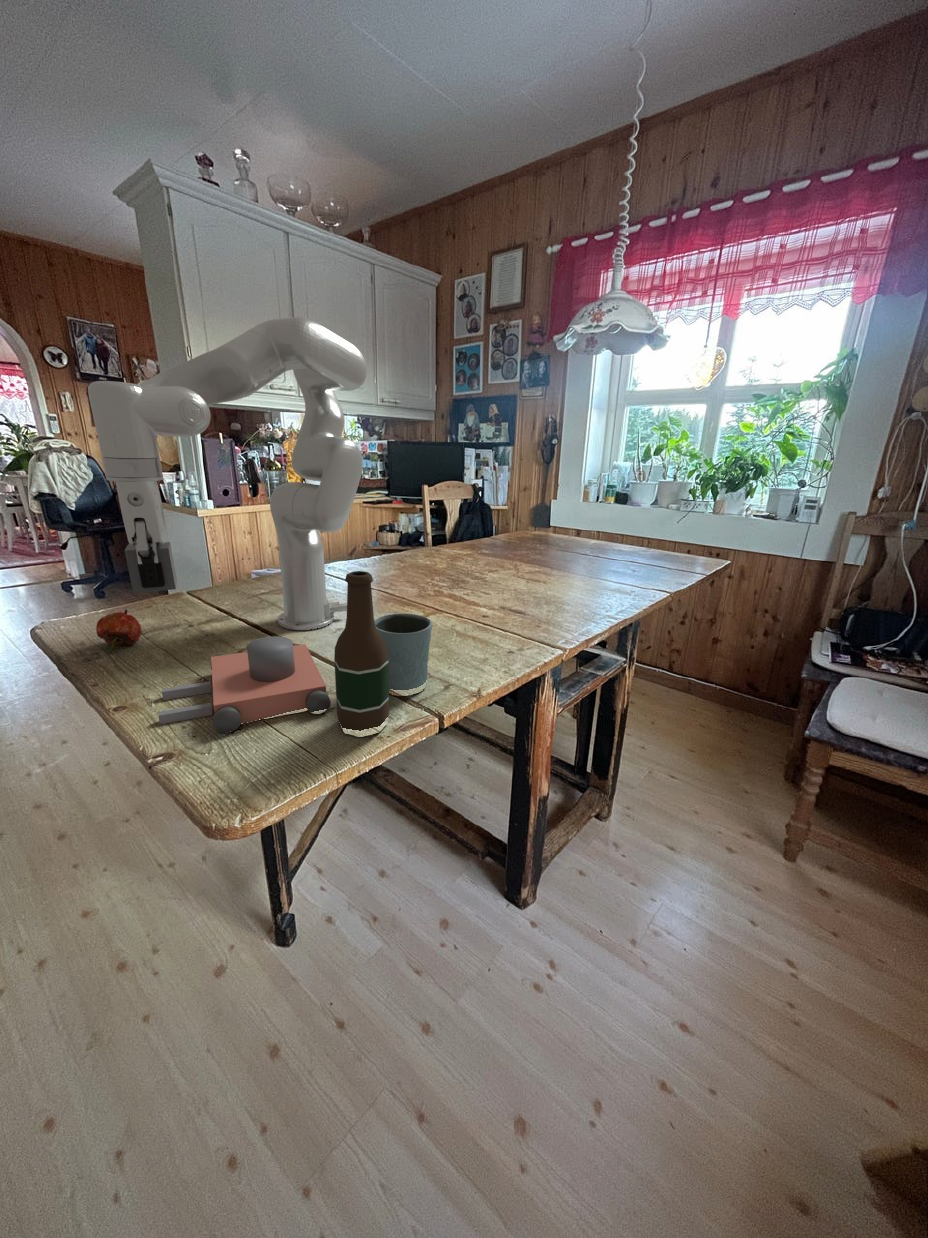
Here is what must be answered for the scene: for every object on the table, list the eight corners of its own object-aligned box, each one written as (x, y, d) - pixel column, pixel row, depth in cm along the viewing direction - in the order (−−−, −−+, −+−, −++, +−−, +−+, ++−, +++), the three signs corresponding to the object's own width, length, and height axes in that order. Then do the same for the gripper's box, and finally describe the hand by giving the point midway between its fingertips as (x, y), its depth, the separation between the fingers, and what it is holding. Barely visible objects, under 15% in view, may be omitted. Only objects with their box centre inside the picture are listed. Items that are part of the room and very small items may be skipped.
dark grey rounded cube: (176, 581, 85) (170, 542, 83) (175, 589, 81) (168, 548, 79) (136, 584, 83) (128, 544, 80) (133, 592, 79) (124, 550, 76)
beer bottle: (341, 711, 78) (334, 565, 69) (390, 711, 78) (389, 566, 70) (333, 739, 70) (324, 580, 62) (387, 739, 71) (385, 581, 63)
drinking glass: (387, 704, 81) (387, 637, 76) (365, 678, 88) (363, 617, 84) (440, 690, 86) (442, 627, 82) (415, 668, 94) (415, 609, 90)
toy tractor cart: (306, 659, 95) (303, 616, 92) (331, 712, 77) (328, 661, 74) (165, 680, 84) (157, 632, 81) (156, 747, 67) (145, 689, 64)
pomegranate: (137, 662, 95) (158, 619, 101) (110, 643, 89) (133, 599, 95) (104, 662, 96) (126, 620, 102) (75, 644, 90) (100, 600, 96)
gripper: (158, 474, 70) (179, 594, 76) (165, 466, 84) (182, 568, 90) (94, 474, 67) (122, 599, 73) (112, 465, 81) (134, 571, 87)
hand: (155, 581), depth 82 cm, fingers closed on dark grey rounded cube, 5 cm apart
